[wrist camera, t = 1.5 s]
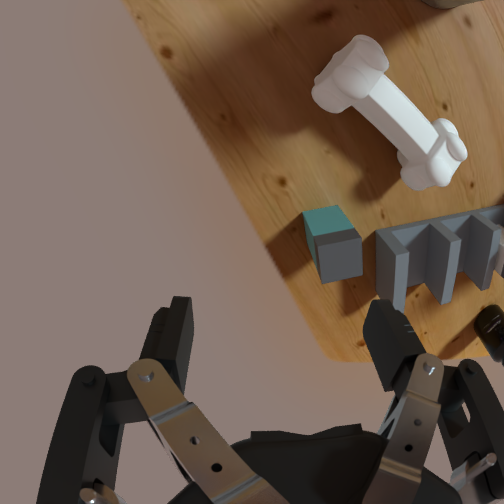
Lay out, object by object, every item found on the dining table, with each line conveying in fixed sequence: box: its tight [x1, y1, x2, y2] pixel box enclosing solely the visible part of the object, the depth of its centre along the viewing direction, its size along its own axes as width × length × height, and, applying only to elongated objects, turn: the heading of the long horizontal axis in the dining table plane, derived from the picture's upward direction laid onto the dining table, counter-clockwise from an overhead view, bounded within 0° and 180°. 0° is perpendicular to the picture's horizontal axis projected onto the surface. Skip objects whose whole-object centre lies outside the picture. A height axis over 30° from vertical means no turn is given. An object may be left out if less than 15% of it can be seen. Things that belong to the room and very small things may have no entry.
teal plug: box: [302, 205, 363, 284], centre depth 30 cm, size 4×4×8 cm
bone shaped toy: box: [311, 35, 467, 191], centre depth 24 cm, size 15×9×8 cm, turn 55°
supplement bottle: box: [474, 305, 504, 366], centre depth 37 cm, size 7×7×12 cm
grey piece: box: [375, 204, 504, 314], centre depth 32 cm, size 23×9×6 cm, turn 102°
